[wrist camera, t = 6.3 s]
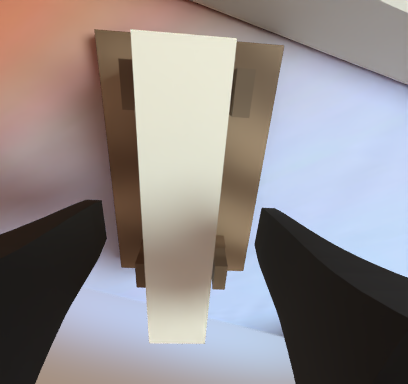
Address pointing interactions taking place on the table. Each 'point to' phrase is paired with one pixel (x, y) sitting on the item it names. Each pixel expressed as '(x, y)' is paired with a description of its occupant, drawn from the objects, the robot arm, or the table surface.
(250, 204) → the walnut rack
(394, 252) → the table surface
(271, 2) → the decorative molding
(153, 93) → the cream rectangular block
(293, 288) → the robot arm
